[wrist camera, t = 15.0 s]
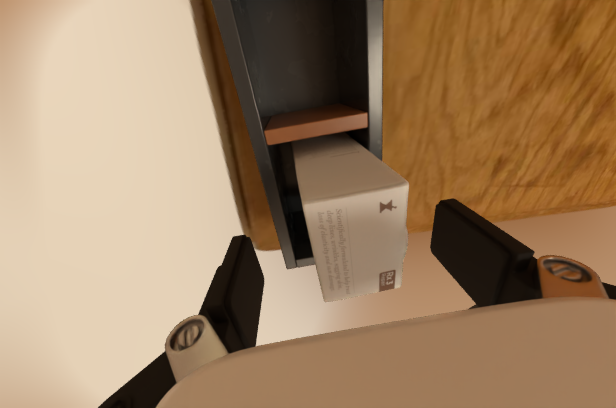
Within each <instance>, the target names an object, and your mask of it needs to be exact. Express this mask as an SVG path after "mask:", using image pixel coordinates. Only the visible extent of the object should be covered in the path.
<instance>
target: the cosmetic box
mask: <svg viewBox="0 0 616 408" xmlns="http://www.w3.org/2000/svg"><path fill="white" fill-rule="evenodd" d="M291 146H292V153H293V159H294V165H295V170H296V176H297V181H298V186H299V191H300V196H301V201H302V207H303V211H304V216H305V220H306V224H307V229H308V233H309V238H310V242H311V247H312V251H313V256H314V260H315V265H316V269H317V273H318V277H319V281H320V286H321V290H322V294H323V299H324V301H325V302H330V301H337V300H343V299H347V298H352V297H357V296H361V295H366V294H371V293H375V292H380V291H384V290H389V289H394V288H399V287H401V284H402V272H403V259H404V257H405V254H406V250H407V244H408V232H407V228H406V217H407V202H408V190H409V183H408V181H407V180H405V179H404V178H403V177H402V176H400V175H399V174H398V173H396V172H395V171H394V170H392V169H391V168H390V167H389V166H387V165H386V164H385V163H384V162H382V161H381V160H380V159H378V158H377V157H376V156H375V155H373V154H372V153H371V152H369V151H368V150H367V149H365V148H364V147H363V146H362V145H361V144H359V143H358V142H357V141H355V140H354V139H353V138H351V137H350V136H349V135H348V134H346V133H345V132H340V133H334V134H328V135H323V136H317V137H312V138H306V139H301V140H295V141H291Z"/></svg>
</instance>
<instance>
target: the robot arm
mask: <svg viewBox="0 0 616 408" xmlns="http://www.w3.org/2000/svg"><path fill="white" fill-rule="evenodd" d="M430 248H431V252H432V253H433V255H434V256H435V257H436V258H437V259H438V260H439V262H440V263H441V264H442V265H443V266H444V267H445V269H446V270H447V271H448V272H449V273H450V274H451V275H452V276H453V278H454V279H455V280H456V281H457V282H458V283H459V285H460V286H461V287H462V288H463V289H464V290H465V292H466V293H467V294H468V295H469V296H470V297H471V298H472V300H473V301H474V302H475V303H476V304H477V305H478V307H479V308H474V309H468V310H462V311H455V312H449V313H443V314H437V315H431V316H425V317H419V318H413V319H408V320H401V321H395V322H389V323H384V324H378V325H371V326H366V327H360V328H354V329H348V330H342V331H337V332H331V333H325V334H320V335H314V336H309V337H302V338H296V339H291V340H287V341H281V342H276V343H270V344H265V345H261V346H256V338H257V332H258V324H259V317H260V310H261V302H262V295H263V287H264V276H263V273H262V270H261V267H260V264H259V261H258V258H257V256H256V253H255V250H254V247H253V244H252V241H251V239H250V237H246V235H240V236H234V237H233V238H232V240H231V243H230V245H229V248H228V250H227V253H226V255H225V258H224V261H223V263H222V265H221V266H219V267H218V268H217V270H216V273H215V275H214V278H213V280H212V283H211V285H210V287H209V290H208V292H207V295H206V297H205V299H204V302H203V305H202V307H201V309H200V312H199V314H198V315H194V316H191V317H188V318H186V319H185V320H183V321H182V322H180V323H179V324H178V325H176V326H175V327H174V329H173V330H172V331H171V332H170V334H169V336H168V337H167V339H166V343H165V352H164V353H162V354H161V355H160V356H159V357H158V358H156V359H155V360H154V361H153V362H151V364H149V365H148V366H147V367H146V368H144V369H143V370H142V371H141V372H139V373H138V374H137V375H136V376H135V377H133V378H132V379H131V380H130V381H128V382H127V383H126V384H125V385H124V386H122V387H121V388H120V389H119V390H118V391H117V392H115V393H114V394H113V395H111V396H110V397H109V398H108V399H107V400H106V401H104V402H103V404H101V405H100V406H99V407H98V408H616V286H614V285H610V284H607V283H603V282H601V280H600V278H599V276H598V275H597V273H596V272H595V271H593V270H592V269H591V268H589V267H588V266H586V265H584V264H582V263H580V262H578V261H575V260H572V259H569V258H565V257H562V256H554V255H546V256H542V257H540V258H539V259H538V260H537V259H536V258H534V257H533V254H534V251H533V250H531V249H530V248H528V247H527V246H525V245H524V244H522V243H521V242H519V241H518V240H516V239H515V238H513V237H512V236H510V235H509V234H507V233H505V232H504V231H503V230H501V229H500V228H498V227H497V226H495V225H494V224H492V223H491V222H489V221H488V220H486V219H485V218H483V217H482V216H480V215H479V214H477V213H476V212H474V211H473V210H471V209H469V208H468V207H466V206H465V205H463V204H462V203H460V202H459V201H457V200H456V199H447V200H441V201H440V202H439V204H437V205H436V209H435V216H434V223H433V231H432V238H431V246H430ZM255 346H256V347H255Z"/></svg>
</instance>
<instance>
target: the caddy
mask: <svg viewBox="0 0 616 408" xmlns="http://www.w3.org/2000/svg"><path fill="white" fill-rule="evenodd" d="M211 2H212V5H213V9H214V12H215V16H216V19H217V23H218V26H219V30H220V34H221V37H222V41H223V44H224V48H225V51H226V55H227V58H228V62H229V65H230V69H231V73H232V76H233V80H234V83H235V87H236V90H237V94H238V97H239V101H240V105H241V108H242V112H243V115H244V119H245V122H246V126H247V129H248V133H249V136H250V140H251V144H252V147H253V151H254V154H255V158H256V161H257V165H258V168H259V172H260V176H261V179H262V183H263V186H264V190H265V193H266V197H267V200H268V204H269V208H270V211H271V215H272V218H273V222H274V225H275V229H276V232H277V236H278V239H279V243H280V247H281V250H282V253H283V257H284V260H285V264H286V268H287V269H292V268H296V267H304V266H309V265H315V260H314V256H313V251H312V247H311V242H310V238H309V233H308V229H307V224H306V220H305V216H304V211H303V207H302V201H301V196H300V191H299V186H298V181H297V176H296V170H295V165H294V159H293V153H292V146H291V141H295V140H301V139H306V138H312V137H317V136H323V135H328V134H334V133H340V132H345V133H346V134H348V135H349V136H350V137H351V138H353V139H354V140H355V141H357V142H358V143H359V144H361V145H362V146H363V147H364V148H365V149H367V150H368V151H369V152H371V153H372V154H373V155H375V156H376V157H377V158H378V159H380V160H381V161H382V105H383V0H211Z"/></svg>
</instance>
